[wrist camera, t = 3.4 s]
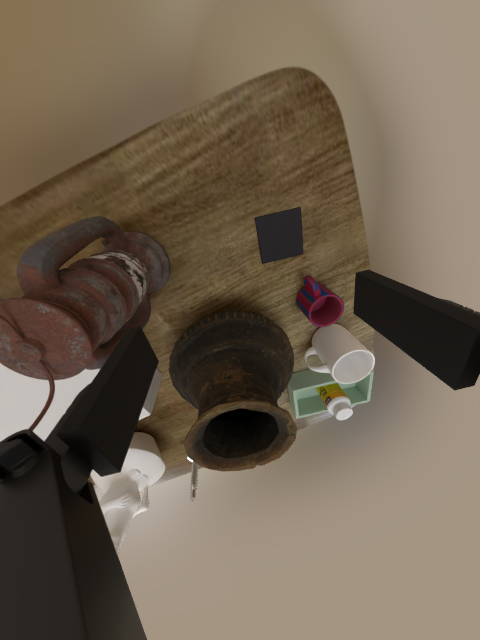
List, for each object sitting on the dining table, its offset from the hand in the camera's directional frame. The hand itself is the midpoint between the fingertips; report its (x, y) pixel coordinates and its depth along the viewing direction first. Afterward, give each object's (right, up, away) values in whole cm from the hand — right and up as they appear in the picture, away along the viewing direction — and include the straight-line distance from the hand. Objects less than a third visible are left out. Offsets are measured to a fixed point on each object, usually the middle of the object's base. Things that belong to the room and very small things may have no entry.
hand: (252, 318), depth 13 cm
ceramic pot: (-3, -6, +36) cm, 37 cm away
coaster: (+7, +15, +26) cm, 31 cm away
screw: (-14, -40, +53) cm, 68 cm away
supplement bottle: (+22, -17, +44) cm, 52 cm away
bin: (+22, -16, +45) cm, 52 cm away
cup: (+14, +6, +32) cm, 35 cm away
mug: (+19, -5, +38) cm, 43 cm away
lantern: (-19, +10, +25) cm, 33 cm away
